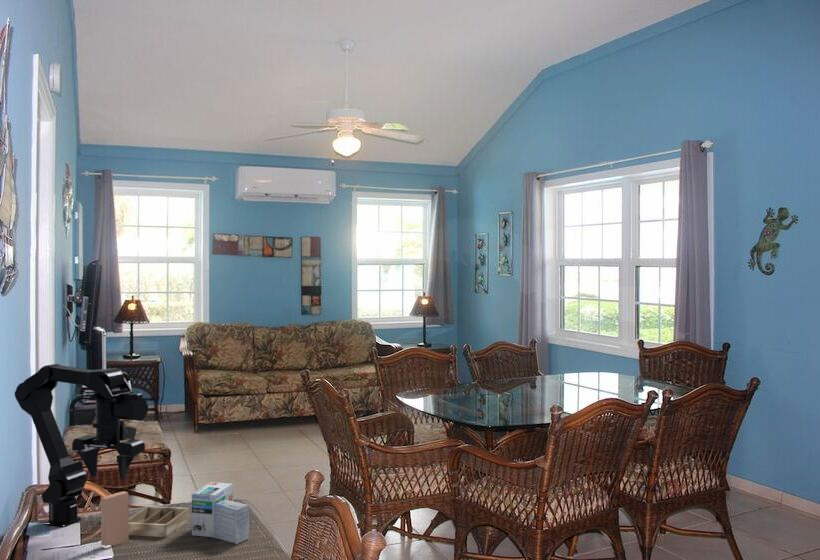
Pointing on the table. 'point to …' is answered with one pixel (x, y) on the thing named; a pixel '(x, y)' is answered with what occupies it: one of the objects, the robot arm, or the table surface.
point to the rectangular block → (114, 519)
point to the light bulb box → (208, 506)
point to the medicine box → (231, 521)
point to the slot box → (158, 521)
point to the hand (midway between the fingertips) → (108, 478)
